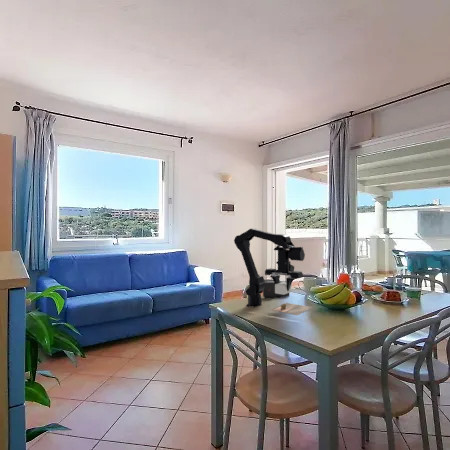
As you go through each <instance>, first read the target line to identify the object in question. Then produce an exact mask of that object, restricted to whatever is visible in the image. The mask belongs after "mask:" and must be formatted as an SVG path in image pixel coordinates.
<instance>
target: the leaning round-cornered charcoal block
mask: <svg viewBox="0 0 450 450" xmlns="http://www.w3.org/2000/svg"><path fill="white" fill-rule="evenodd" d="M281 282H286V281H285V280H279V283H281ZM286 283H287V282H286ZM289 296H290V293H287V294H285V295H282V294H276V293H275V282H274V281H273V280H272V281H271V280H269V281H265V289H264V290H263V292H262V297H263V298H264V299H270V298H271V299H274V297H278V298H281V297H289Z"/></svg>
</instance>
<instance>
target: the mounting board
mask: <svg viewBox="0 0 450 450" xmlns="http://www.w3.org/2000/svg"><path fill="white" fill-rule="evenodd" d="M313 308H314V307H313V306H307V305H302V304H296V303H289V302H285V303H282V304H280V305H278V306H276V307H274V308H271V309H270V311H273V312H278V313H283V314H289V315H295V316H300V315H301V314H304V313H305V312H307V311H309V310H311V309H313Z"/></svg>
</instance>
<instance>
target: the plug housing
mask: <svg viewBox="0 0 450 450" xmlns="http://www.w3.org/2000/svg"><path fill="white" fill-rule="evenodd" d="M275 293H276V294H282V295H285V294H287V293H289V294H290V293H292V285H291V286H290V289H289V291H287V283H286V282H281V283H278V284H275Z"/></svg>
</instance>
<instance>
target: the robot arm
mask: <svg viewBox="0 0 450 450" xmlns="http://www.w3.org/2000/svg"><path fill="white" fill-rule="evenodd" d="M254 237H255V238H258V239H261V240H265V241H269V242H272V243H273V244H274V245H276V246H275V247H274V249H273V251H277V261H276V262H275V263H276V264H277V268H271V267H270V268H266V269H265V270H264V275H265V276H269V278H271V279H272V281H274V282H275V284H278V283H279V281H280V277H281V276H287V277H286V282H287V291H289V289H290V286H291V287H292V283H293V281H294V280H295V279H301V278H303V277H304V273H303V272H302V271H300V270H299V271H298V270H295V265H292V264H291V261H297V262H298V261H299V262H303V261H304V260H305V256H306V254H305V250H304V247H303V246H295V245H294V243H293V242H292V240H291V237H290V235H289V234H283V233H282V234H280V233H279V234H278V233H271V232H268V231H264V230H262V229H257V228H249V229H248V230H246V231H244V232H242V233H241V234H239V235H236V236H235V237H234V240H233V242H234V245H235V246H236V248H237V250H239V251H240V253H241V256H242V258H243V259H242V260H243V261H244V266H245V268H246V271H247V273H248V277H249V280H248V281H249V282H248V285H249V287H248V288H247V289H246V290H245V294H246V295H247V297H248V298H247V304H246V306H247V307H252V308H256V307H257V306H259V307H260V306H262V304H263V303H262V294H263V290H264V289H265V282H266V281H265V279H264V276H263V275H262V276H261V275H260V274H259V272H258V270H257V267H256V264H255V262H254V257H253V256H252V253H251V250H250V249H251V248H250V247H251V240H253V239H254ZM290 260H291V261H290Z"/></svg>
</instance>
